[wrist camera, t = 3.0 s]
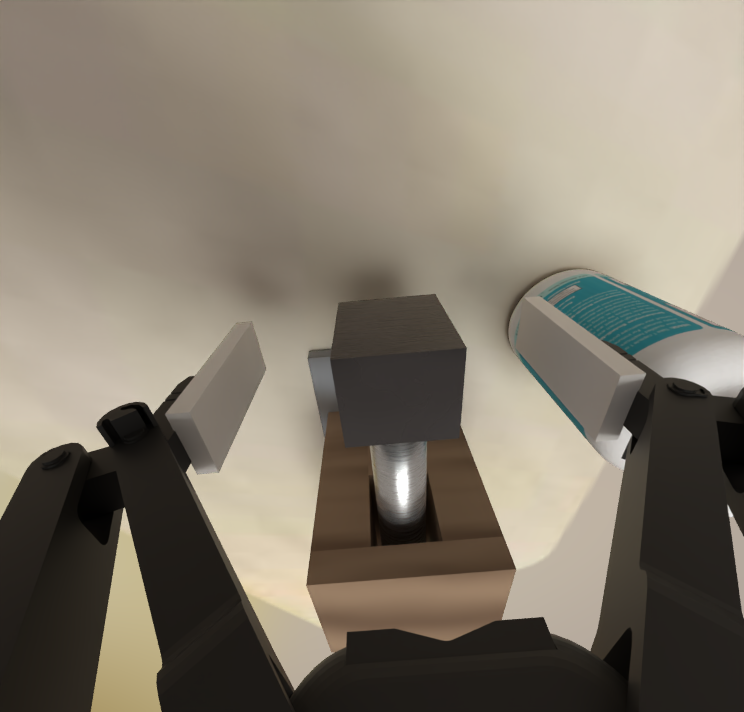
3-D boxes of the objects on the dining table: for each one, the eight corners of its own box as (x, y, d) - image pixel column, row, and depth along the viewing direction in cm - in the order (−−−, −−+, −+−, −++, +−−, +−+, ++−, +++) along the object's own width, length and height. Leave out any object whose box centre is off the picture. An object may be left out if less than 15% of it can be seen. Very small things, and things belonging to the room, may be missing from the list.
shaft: (338, 302, 15) (329, 359, 10) (434, 294, 15) (466, 347, 10) (376, 565, 26) (379, 643, 22) (429, 561, 26) (443, 638, 22)
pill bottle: (496, 365, 24) (619, 544, 13) (514, 268, 21) (713, 399, 9) (593, 360, 25) (802, 534, 13) (629, 263, 21) (971, 386, 9)
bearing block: (309, 351, 23) (263, 522, 12) (460, 338, 23) (554, 499, 12) (346, 527, 35) (339, 700, 23) (448, 519, 34) (490, 689, 23)
